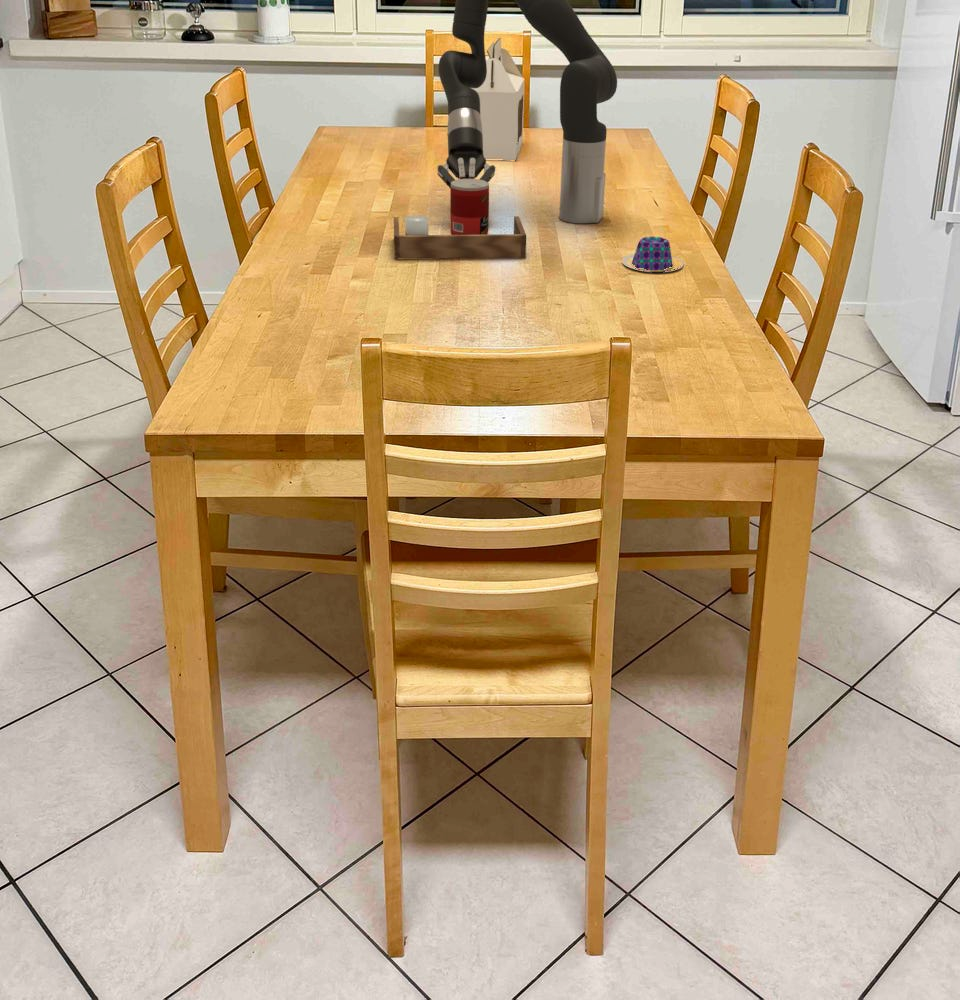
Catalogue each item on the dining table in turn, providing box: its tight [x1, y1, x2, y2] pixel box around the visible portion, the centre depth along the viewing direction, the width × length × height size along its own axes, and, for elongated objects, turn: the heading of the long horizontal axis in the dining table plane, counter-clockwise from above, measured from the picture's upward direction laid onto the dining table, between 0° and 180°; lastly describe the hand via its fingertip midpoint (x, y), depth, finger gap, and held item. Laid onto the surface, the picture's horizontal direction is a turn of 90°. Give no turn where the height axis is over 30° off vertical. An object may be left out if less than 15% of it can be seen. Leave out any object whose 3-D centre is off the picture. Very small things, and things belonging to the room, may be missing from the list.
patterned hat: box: [621, 236, 684, 273], centre depth 225 cm, size 12×12×5 cm
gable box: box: [472, 37, 526, 161], centre depth 304 cm, size 22×13×28 cm, turn 173°
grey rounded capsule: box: [404, 214, 429, 235], centre depth 229 cm, size 5×5×7 cm
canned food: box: [449, 178, 490, 235], centre depth 239 cm, size 8×8×11 cm
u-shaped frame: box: [393, 215, 527, 259], centre depth 233 cm, size 26×14×4 cm, turn 94°
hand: (467, 207), depth 243 cm, fingers closed
